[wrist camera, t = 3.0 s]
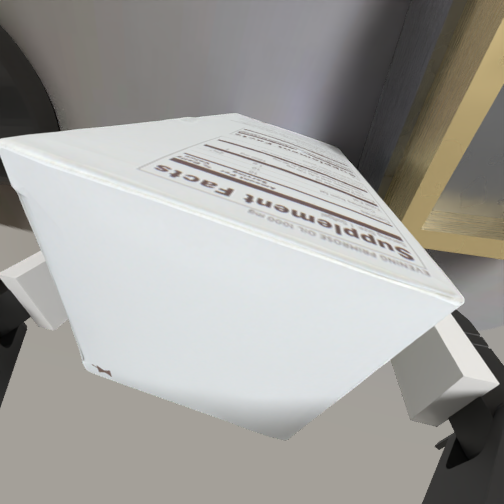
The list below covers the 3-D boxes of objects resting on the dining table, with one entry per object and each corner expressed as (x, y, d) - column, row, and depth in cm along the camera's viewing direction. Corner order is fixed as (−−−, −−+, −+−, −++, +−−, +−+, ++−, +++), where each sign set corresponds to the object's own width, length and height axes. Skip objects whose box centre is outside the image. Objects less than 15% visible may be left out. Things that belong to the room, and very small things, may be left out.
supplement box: (297, 241, 23) (287, 449, 9) (214, 213, 23) (80, 377, 9) (344, 145, 17) (499, 309, 3) (233, 108, 17) (-40, 125, 4)
